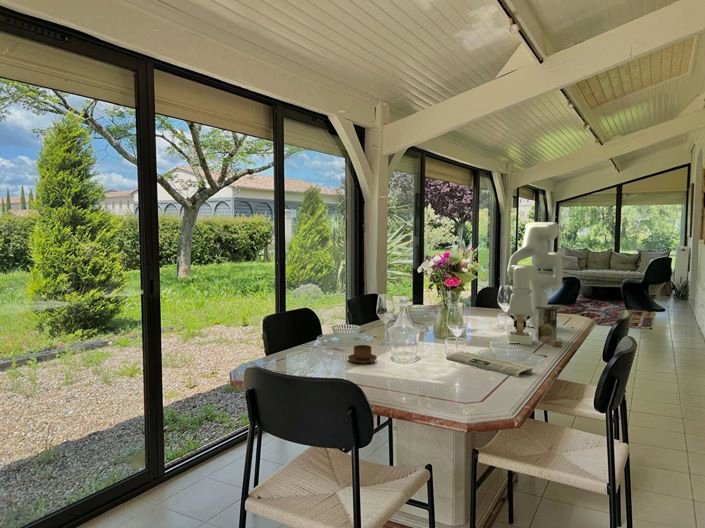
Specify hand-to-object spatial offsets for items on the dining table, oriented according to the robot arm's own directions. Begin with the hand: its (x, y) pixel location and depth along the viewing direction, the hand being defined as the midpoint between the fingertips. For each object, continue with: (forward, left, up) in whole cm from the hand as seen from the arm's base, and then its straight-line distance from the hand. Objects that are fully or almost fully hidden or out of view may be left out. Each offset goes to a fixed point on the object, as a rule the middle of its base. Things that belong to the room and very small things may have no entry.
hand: (519, 328), depth 246 cm
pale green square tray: (0, 0, -7) cm, 7 cm away
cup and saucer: (+54, -67, -7) cm, 86 cm away
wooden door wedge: (+2, +14, -7) cm, 16 cm away
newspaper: (+46, -15, -7) cm, 49 cm away
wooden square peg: (0, 0, -3) cm, 3 cm away
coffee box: (-9, +13, -7) cm, 17 cm away
